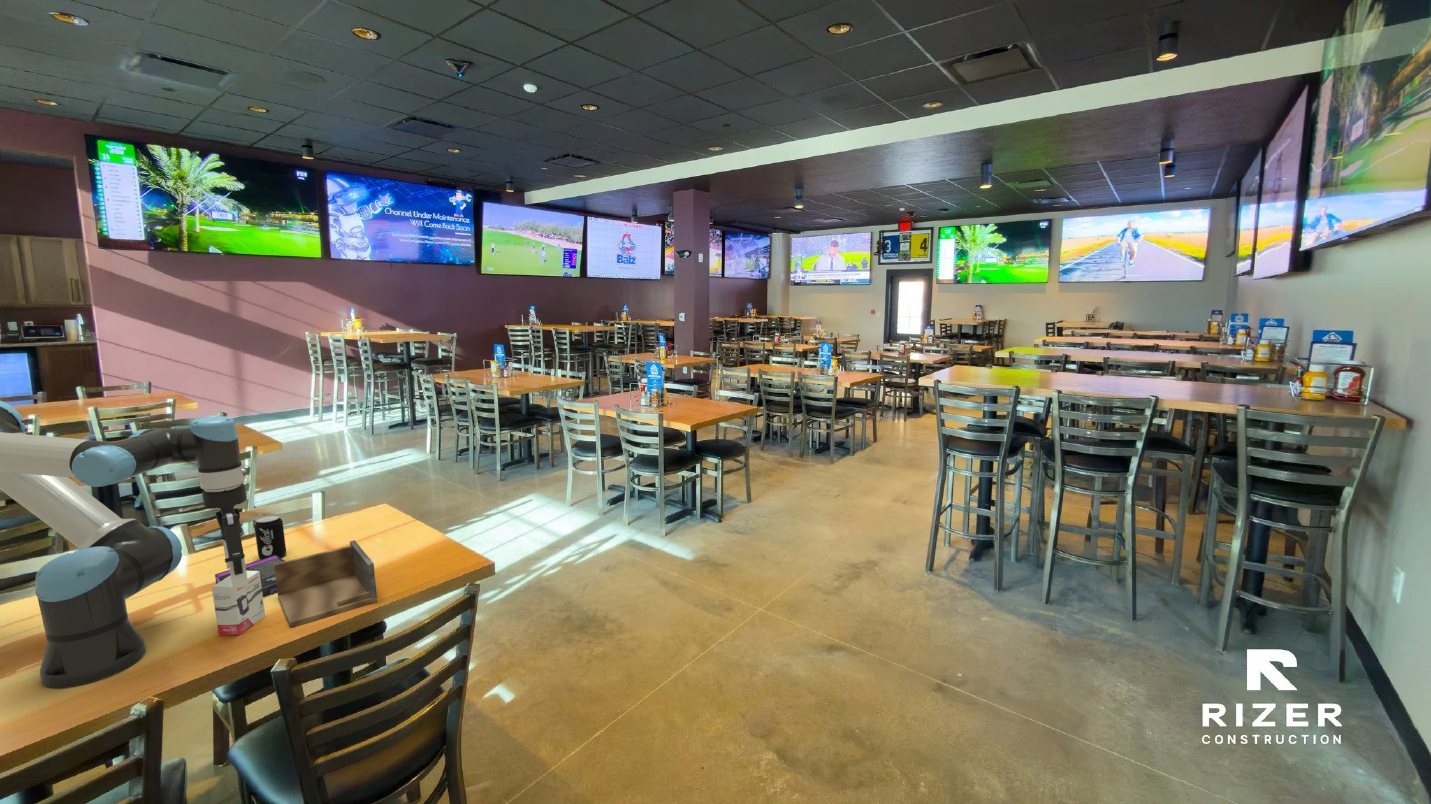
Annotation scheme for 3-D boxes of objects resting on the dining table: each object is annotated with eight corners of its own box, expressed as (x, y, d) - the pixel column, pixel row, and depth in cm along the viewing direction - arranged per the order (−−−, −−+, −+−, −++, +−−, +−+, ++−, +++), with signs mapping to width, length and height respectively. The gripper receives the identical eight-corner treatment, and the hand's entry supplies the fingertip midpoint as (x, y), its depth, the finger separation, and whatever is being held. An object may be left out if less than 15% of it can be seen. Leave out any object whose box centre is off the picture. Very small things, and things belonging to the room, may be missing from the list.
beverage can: (290, 556, 177) (286, 516, 175) (264, 564, 172) (259, 524, 170) (280, 550, 181) (275, 512, 179) (254, 558, 175) (249, 519, 173)
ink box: (240, 635, 136) (233, 586, 134) (217, 636, 136) (210, 587, 134) (266, 615, 145) (260, 569, 143) (245, 616, 145) (238, 569, 143)
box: (216, 586, 161) (247, 605, 150) (214, 573, 160) (244, 592, 150) (276, 566, 172) (309, 582, 162) (274, 554, 172) (307, 570, 161)
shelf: (290, 627, 140) (285, 586, 138) (277, 597, 153) (273, 559, 152) (377, 601, 152) (373, 563, 150) (358, 575, 165) (354, 540, 164)
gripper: (251, 496, 128) (265, 590, 132) (238, 471, 146) (251, 554, 150) (205, 504, 123) (220, 602, 127) (198, 477, 141) (212, 563, 145)
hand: (237, 576), depth 138 cm, fingers open, 13 cm apart
